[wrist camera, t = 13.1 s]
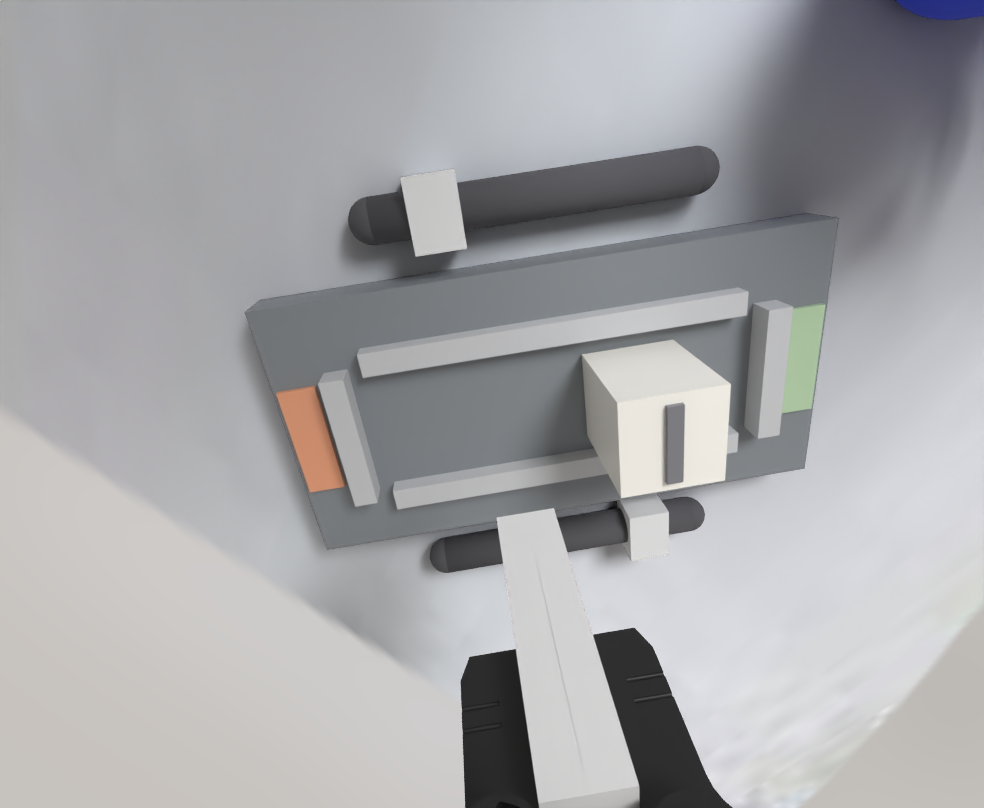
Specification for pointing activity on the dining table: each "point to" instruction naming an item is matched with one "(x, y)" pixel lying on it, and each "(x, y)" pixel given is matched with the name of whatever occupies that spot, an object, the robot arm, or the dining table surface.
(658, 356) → the toggle
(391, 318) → the panel
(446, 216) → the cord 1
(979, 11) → the mug
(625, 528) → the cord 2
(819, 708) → the dining table surface
